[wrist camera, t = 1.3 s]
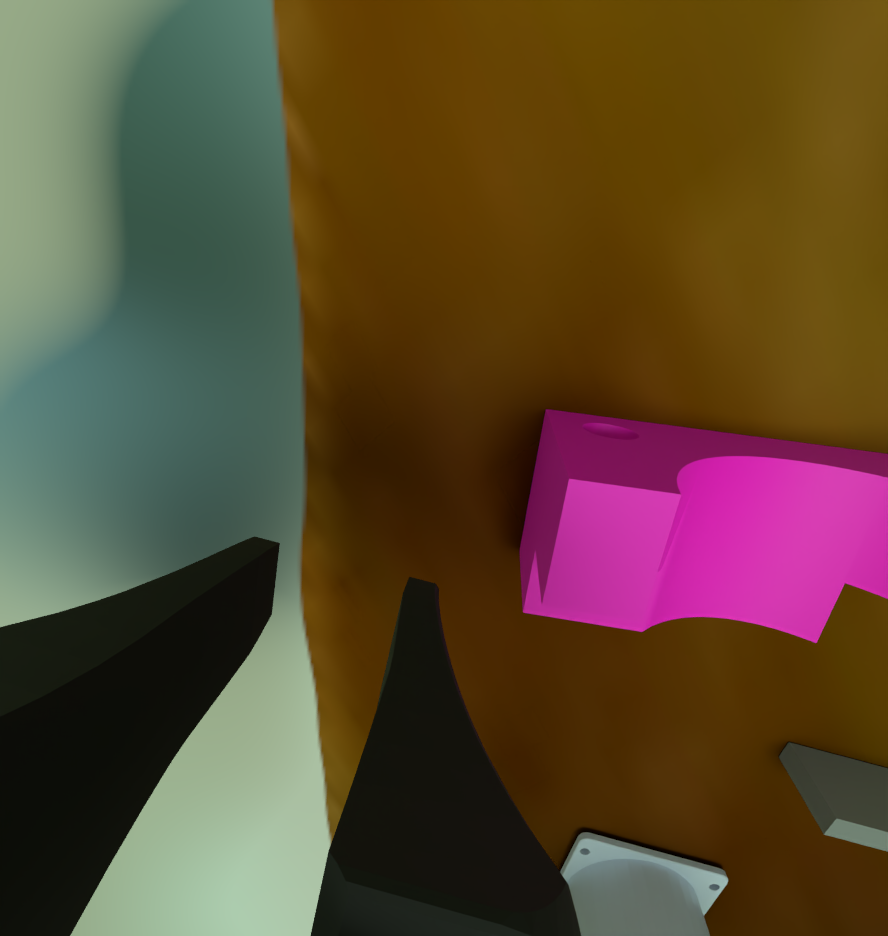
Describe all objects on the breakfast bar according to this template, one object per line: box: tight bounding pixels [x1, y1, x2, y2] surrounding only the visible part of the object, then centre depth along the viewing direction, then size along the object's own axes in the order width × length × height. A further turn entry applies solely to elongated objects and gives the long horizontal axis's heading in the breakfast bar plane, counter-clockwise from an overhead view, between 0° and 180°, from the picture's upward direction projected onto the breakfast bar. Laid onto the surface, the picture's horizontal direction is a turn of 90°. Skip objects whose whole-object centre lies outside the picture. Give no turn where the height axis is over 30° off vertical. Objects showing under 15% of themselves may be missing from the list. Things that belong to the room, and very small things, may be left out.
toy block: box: [520, 409, 888, 643], centre depth 16 cm, size 15×6×8 cm, turn 84°
